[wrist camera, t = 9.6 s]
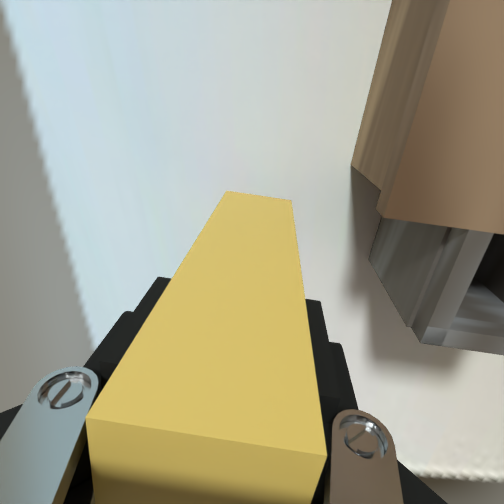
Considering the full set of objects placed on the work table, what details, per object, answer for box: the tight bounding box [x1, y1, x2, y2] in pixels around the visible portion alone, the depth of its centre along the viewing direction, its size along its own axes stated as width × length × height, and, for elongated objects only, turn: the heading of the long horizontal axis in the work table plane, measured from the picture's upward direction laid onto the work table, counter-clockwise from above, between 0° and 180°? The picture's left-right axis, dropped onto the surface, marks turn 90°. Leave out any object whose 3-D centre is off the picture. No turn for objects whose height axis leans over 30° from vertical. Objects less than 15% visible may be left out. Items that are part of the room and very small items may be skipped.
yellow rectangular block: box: [85, 191, 327, 504], centre depth 13 cm, size 4×4×16 cm
